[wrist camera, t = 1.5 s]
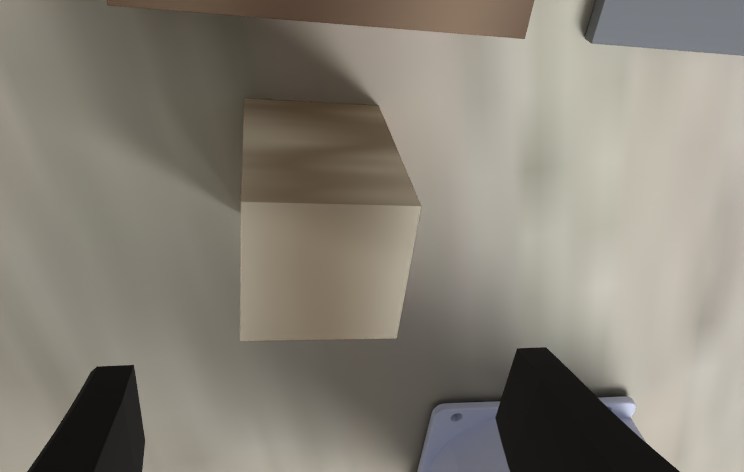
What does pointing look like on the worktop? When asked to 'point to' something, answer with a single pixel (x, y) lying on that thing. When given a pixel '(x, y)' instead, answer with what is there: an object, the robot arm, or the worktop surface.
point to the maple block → (322, 223)
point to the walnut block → (372, 13)
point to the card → (670, 25)
